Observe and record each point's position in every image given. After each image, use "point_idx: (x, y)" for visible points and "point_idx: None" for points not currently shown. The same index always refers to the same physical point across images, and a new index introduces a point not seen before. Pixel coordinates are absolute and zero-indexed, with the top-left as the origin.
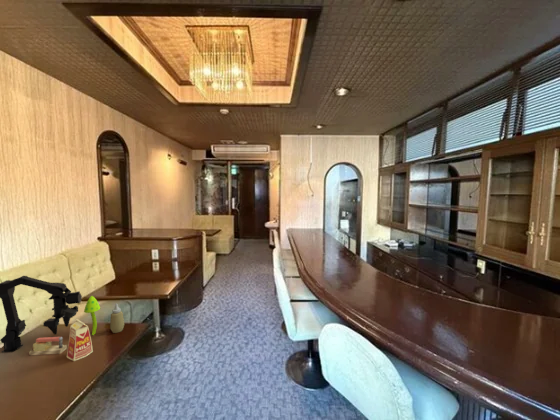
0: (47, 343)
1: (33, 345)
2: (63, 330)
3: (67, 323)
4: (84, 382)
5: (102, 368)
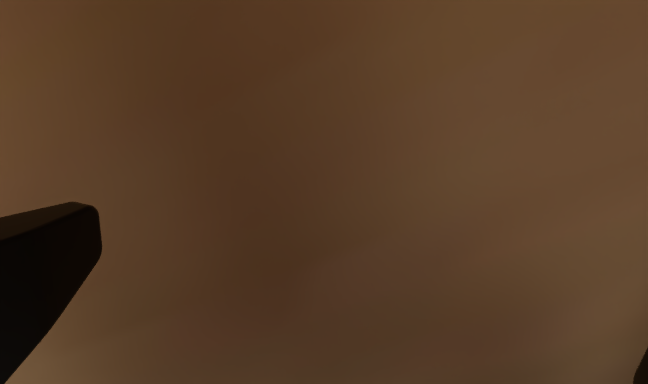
0: None
1: None
2: None
3: (5, 260)
4: None
5: None
